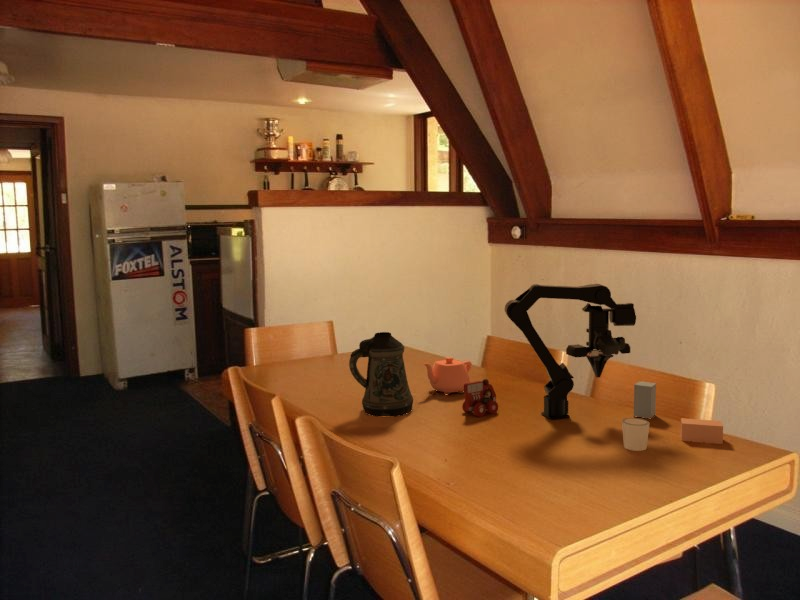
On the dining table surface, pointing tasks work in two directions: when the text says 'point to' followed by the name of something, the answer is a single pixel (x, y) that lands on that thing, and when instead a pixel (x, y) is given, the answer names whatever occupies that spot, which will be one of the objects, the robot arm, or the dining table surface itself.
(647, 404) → the slate post
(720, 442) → the terracotta post
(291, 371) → the dining table surface
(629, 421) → the white cup
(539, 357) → the robot arm
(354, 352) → the beer stein
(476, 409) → the toy fire truck
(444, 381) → the teapot
